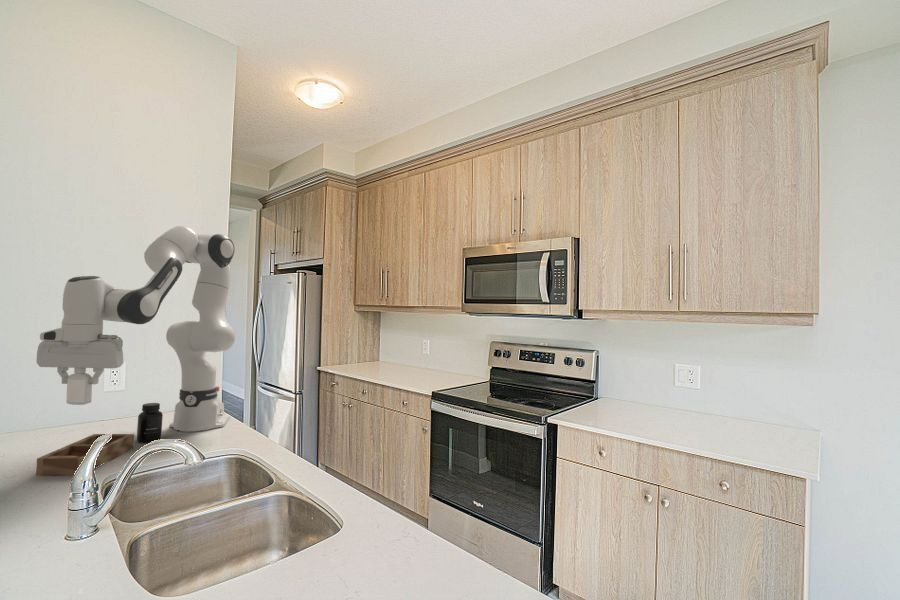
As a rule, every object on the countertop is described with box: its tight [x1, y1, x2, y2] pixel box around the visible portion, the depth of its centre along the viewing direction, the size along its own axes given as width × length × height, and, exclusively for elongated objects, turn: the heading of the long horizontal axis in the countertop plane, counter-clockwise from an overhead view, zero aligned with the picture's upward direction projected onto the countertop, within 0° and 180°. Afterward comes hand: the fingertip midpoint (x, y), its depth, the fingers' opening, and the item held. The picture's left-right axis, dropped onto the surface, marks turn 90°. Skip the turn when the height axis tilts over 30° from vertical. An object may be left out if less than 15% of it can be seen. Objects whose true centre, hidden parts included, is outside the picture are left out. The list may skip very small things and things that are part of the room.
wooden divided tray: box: [35, 433, 135, 476], centre depth 125 cm, size 22×12×5 cm, turn 7°
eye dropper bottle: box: [66, 368, 93, 406], centre depth 121 cm, size 4×6×12 cm
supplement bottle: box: [136, 402, 164, 444], centre depth 145 cm, size 7×7×12 cm
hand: (80, 383), depth 121 cm, fingers closed on eye dropper bottle, 5 cm apart
